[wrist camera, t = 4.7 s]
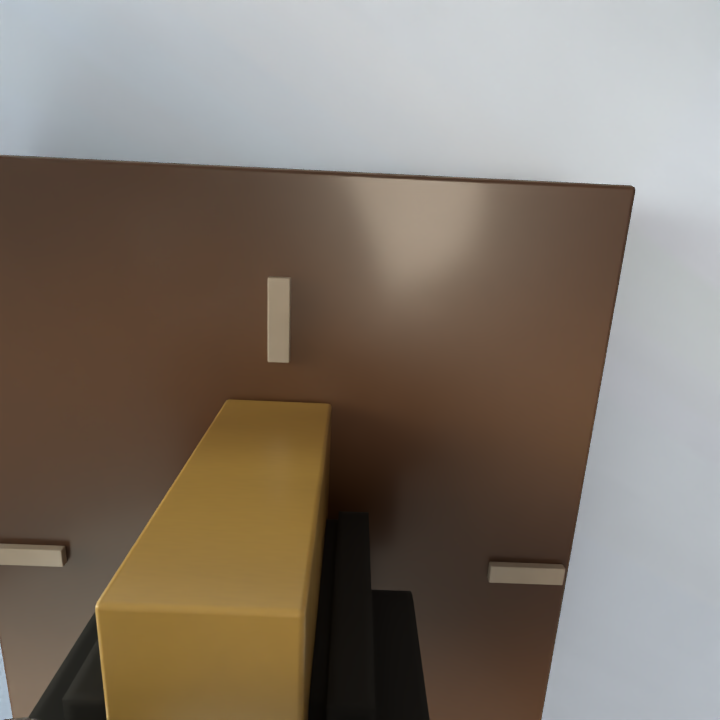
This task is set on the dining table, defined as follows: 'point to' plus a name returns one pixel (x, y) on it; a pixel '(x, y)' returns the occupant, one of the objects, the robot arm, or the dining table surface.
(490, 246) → the plate
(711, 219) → the dining table surface
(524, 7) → the dining table surface
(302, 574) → the yellow flat block
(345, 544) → the robot arm
